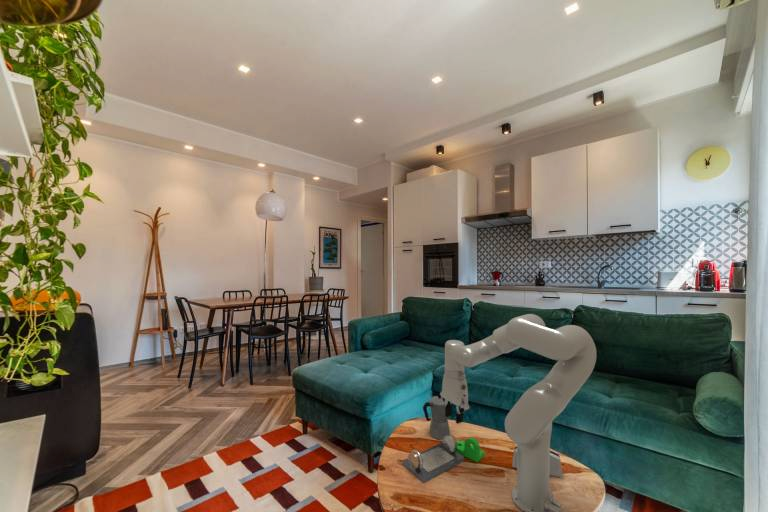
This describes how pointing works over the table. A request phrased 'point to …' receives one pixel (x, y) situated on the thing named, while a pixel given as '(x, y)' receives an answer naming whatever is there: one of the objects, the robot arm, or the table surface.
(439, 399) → the coffeepot
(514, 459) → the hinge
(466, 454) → the mechanical part
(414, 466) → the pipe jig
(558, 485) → the table surface
